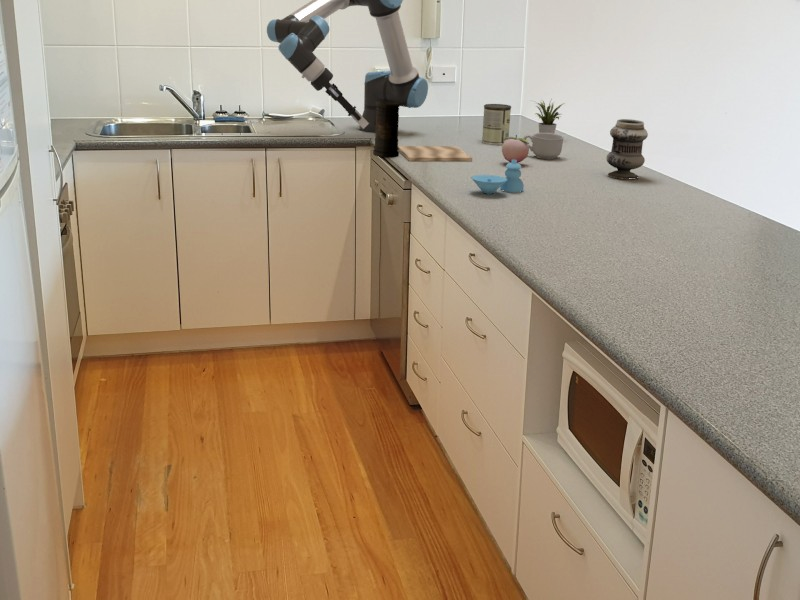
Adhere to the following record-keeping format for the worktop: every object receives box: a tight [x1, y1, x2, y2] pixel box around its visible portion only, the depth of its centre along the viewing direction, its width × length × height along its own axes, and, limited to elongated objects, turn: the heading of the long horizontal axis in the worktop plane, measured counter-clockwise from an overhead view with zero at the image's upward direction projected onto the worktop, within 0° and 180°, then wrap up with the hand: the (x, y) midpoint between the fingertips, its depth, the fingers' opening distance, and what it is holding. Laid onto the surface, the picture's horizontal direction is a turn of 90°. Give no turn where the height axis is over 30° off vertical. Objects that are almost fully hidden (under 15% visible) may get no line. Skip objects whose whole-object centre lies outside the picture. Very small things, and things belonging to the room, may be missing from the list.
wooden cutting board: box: [397, 145, 473, 162], centre depth 318 cm, size 22×22×1 cm
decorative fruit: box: [501, 134, 530, 164], centre depth 306 cm, size 9×8×10 cm
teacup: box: [523, 132, 565, 160], centre depth 322 cm, size 14×11×8 cm
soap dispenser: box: [470, 160, 525, 195], centre depth 265 cm, size 18×10×9 cm, turn 127°
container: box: [372, 101, 401, 158], centre depth 312 cm, size 9×9×18 cm
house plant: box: [530, 98, 566, 134], centre depth 357 cm, size 14×14×16 cm
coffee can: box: [481, 103, 512, 146], centre depth 346 cm, size 10×10×14 cm
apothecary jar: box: [605, 118, 649, 180], centre depth 292 cm, size 12×12×18 cm
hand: (365, 125), depth 310 cm, fingers closed
